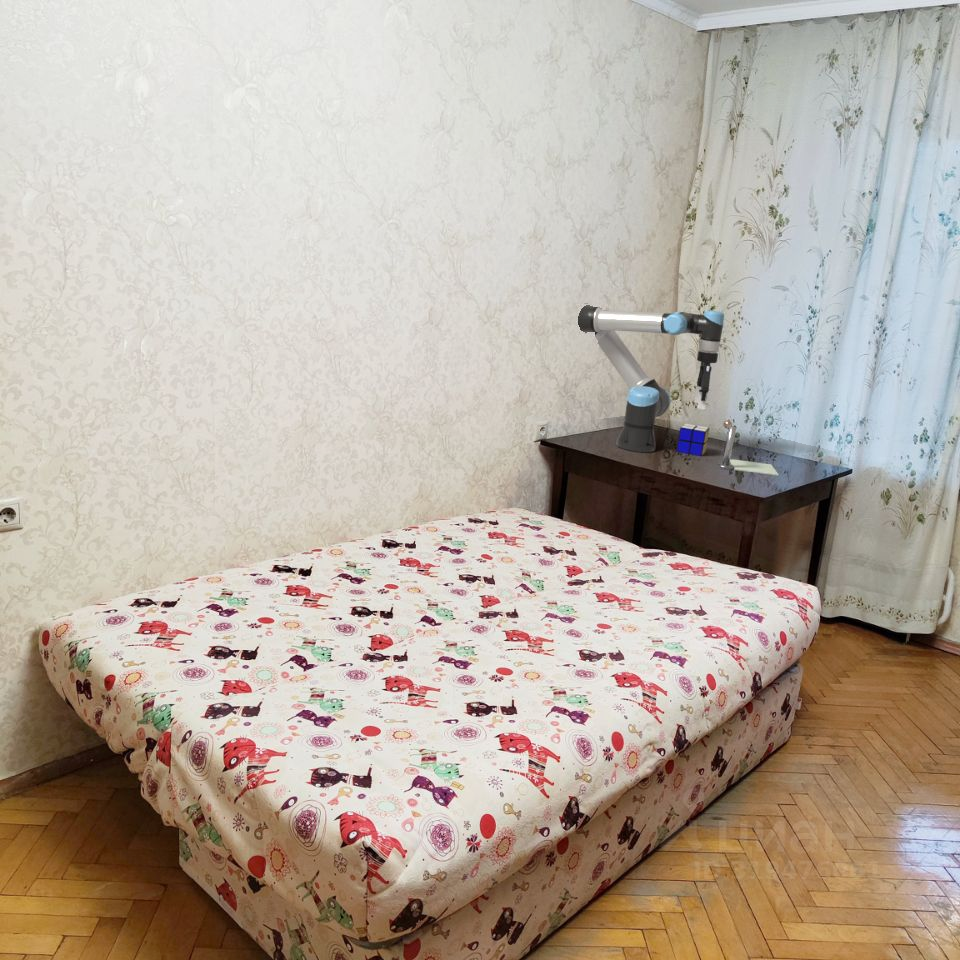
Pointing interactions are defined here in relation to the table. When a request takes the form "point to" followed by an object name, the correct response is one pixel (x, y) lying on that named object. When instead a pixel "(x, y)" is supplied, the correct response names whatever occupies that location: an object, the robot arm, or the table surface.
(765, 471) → the sage mat
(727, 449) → the hook post
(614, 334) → the robot arm
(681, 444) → the puzzle cube
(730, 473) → the table surface
